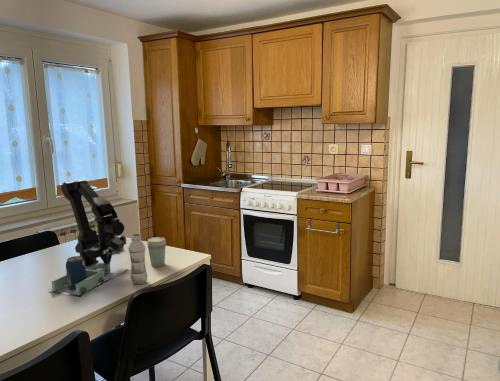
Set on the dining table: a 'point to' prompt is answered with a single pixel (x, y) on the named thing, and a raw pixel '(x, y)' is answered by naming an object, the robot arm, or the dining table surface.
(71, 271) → the soda can
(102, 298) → the dining table surface
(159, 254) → the coffee cup
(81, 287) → the cart
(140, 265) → the plastic bottle
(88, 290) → the rails
